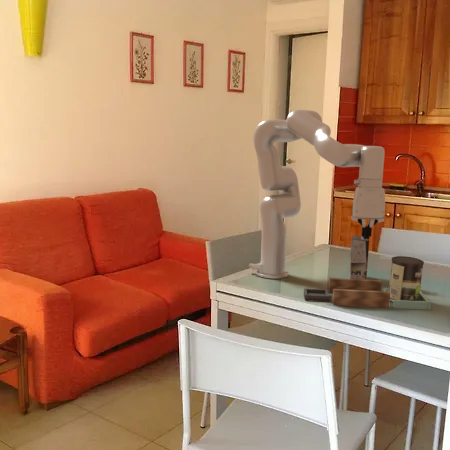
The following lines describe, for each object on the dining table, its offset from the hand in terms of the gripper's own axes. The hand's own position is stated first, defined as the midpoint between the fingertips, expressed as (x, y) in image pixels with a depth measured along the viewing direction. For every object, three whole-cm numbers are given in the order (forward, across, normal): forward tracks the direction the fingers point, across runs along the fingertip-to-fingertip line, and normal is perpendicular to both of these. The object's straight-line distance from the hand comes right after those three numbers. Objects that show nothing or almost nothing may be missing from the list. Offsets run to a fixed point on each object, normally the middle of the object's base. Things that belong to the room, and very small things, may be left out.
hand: (366, 238), depth 183 cm
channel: (+21, -1, -1) cm, 21 cm away
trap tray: (+21, -15, -1) cm, 26 cm away
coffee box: (+22, +2, +26) cm, 34 cm away
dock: (+21, +15, -1) cm, 26 cm away
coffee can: (+21, +14, 0) cm, 25 cm away
